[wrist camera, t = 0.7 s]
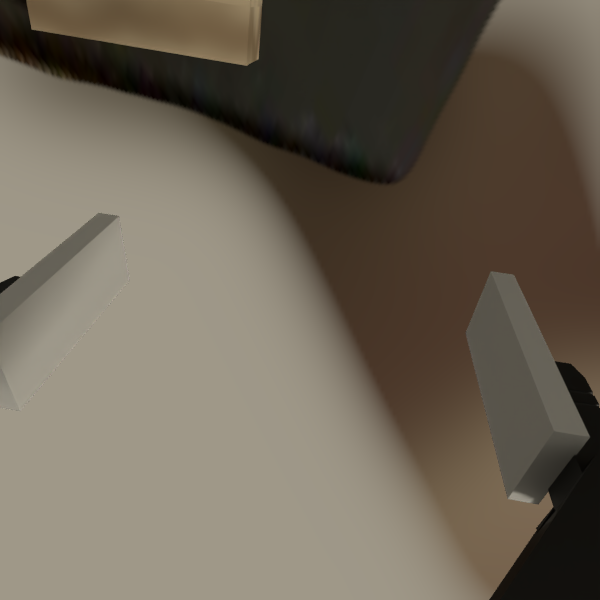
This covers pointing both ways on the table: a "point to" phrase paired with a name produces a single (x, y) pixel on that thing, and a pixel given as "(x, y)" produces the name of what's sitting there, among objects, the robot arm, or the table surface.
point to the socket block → (159, 25)
